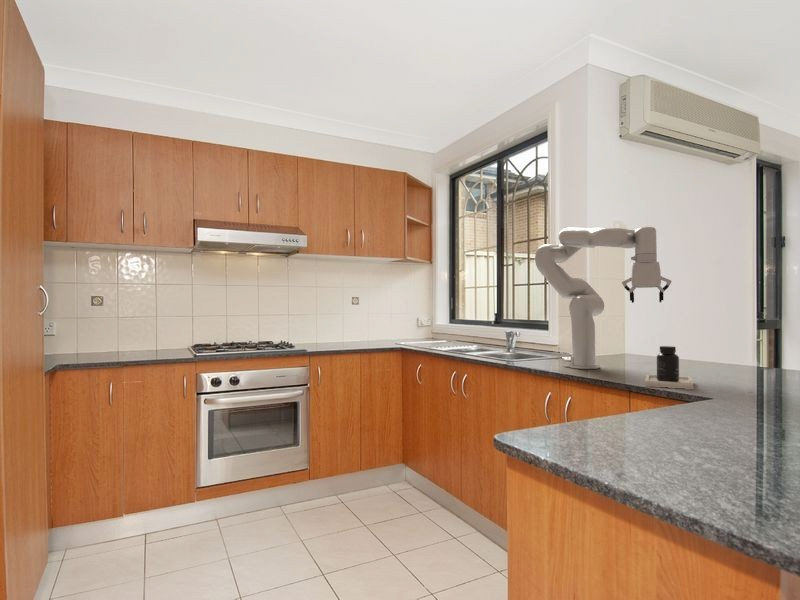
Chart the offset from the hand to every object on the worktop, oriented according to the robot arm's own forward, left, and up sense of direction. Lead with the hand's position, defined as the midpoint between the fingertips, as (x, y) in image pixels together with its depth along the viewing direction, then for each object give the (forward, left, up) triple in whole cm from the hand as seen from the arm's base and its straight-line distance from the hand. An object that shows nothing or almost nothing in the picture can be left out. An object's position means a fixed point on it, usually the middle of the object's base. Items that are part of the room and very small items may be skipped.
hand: (646, 302), depth 186 cm
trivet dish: (+7, -21, -28) cm, 36 cm away
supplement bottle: (+7, -21, -27) cm, 35 cm away
